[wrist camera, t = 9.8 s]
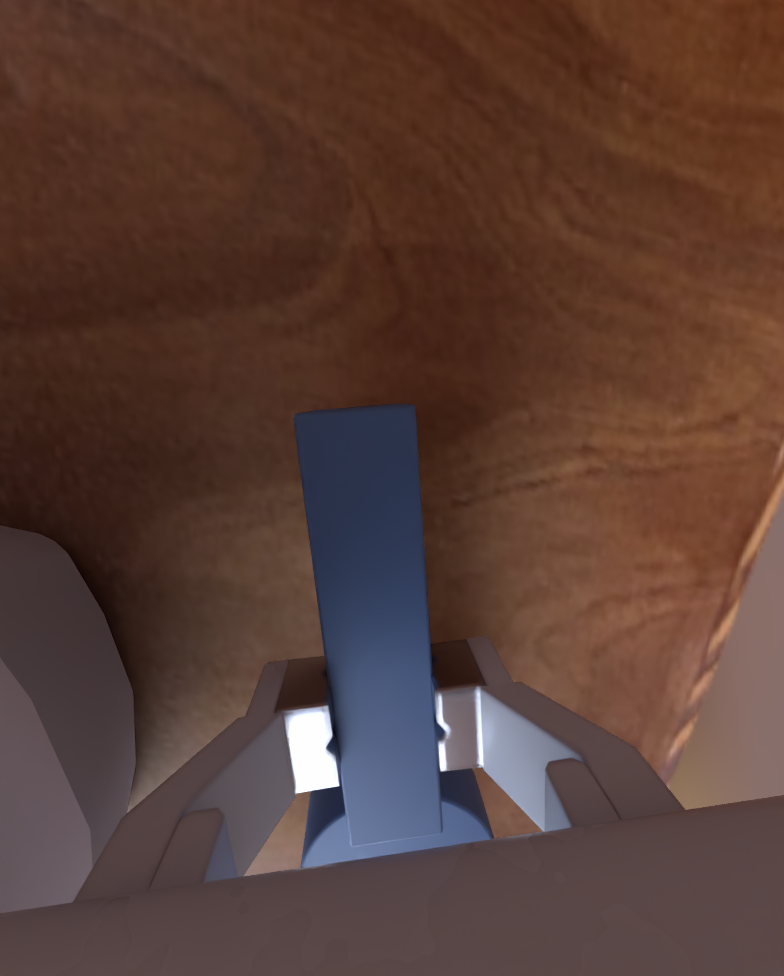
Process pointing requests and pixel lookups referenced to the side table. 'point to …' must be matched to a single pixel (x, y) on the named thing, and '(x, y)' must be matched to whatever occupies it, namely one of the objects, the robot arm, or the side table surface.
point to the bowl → (57, 725)
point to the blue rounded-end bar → (376, 642)
